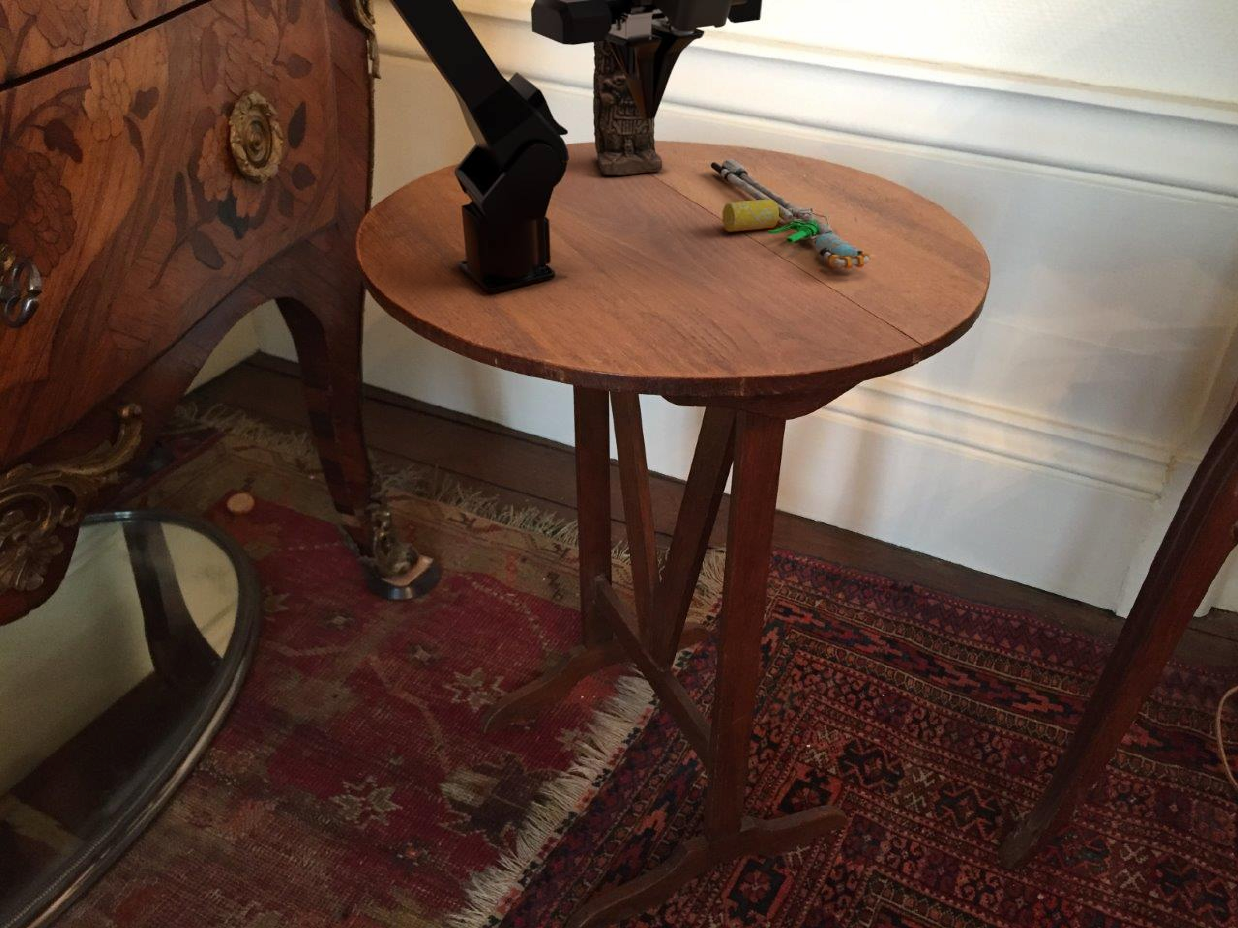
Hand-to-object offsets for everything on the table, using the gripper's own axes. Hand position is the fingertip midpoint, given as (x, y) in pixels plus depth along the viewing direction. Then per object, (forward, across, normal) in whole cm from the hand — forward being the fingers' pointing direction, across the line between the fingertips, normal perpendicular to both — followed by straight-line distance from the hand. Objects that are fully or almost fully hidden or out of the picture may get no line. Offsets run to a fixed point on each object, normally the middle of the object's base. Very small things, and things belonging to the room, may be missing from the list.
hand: (647, 118), depth 81 cm
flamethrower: (+12, +14, 0) cm, 19 cm away
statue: (+12, +11, +21) cm, 27 cm away
